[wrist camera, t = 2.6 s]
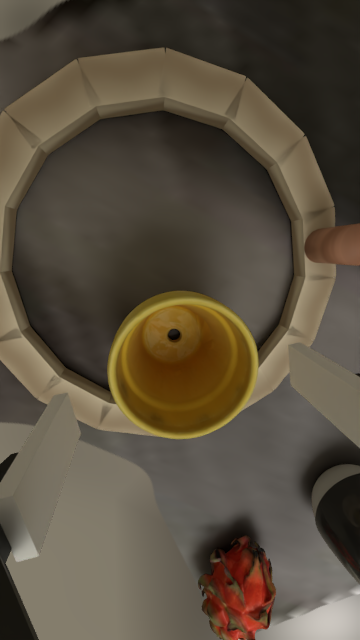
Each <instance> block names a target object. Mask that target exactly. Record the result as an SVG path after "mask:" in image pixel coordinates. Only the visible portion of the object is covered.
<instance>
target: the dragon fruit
mask: <svg viewBox="0 0 360 640" xmlns="http://www.w3.org/2000/svg"><path fill="white" fill-rule="evenodd" d="M234 542H235V543H234ZM249 542H250V538H249V537H248V536H246V535H245V536H243V537H242V536H241V538H240V537H239V538H235V539H234V540H233V541H232V543H231V545H232V544H233V543H234V547H233V548H232V549H231V550H230V551H228V552H227V553H226V554H225V552H224V550H223V549H222V548H221V549H222V550H223V551H222V550H221V549H215V550H214V552H213V553H212V554H211V556H210V563H211V565H212V572H211V575H208V574H204V575H202V576H201V577H200V579H199V580H198V587H199V589H200V590H201V585H202V586H204V589H203V590H202V596H204V593H206V595H207V599H205V600H204V601H203V604H202V610H203V612H204V613H205V614H206V615H208V617H209V619H210V621H209V622H210V627H211V629H212V631H213V632H214V633H215V634H216V635H217V637H219V638H220V639H223V640H238V639H240V640H246V639H247V640H255V631H256V630H257V629H268V627H269V625H270V621H271V613H272V609H273V604H274V600H275V595H276V589H275V586H274V584H273V583H272V567H271V562H270V559H269V561H268V560H267V558H266V554H265V551H264V549H263V548H260V546H259V545H258V544H257V543H256V542H255V543H254V544H255V546H256V547H257V548H256V549H255V548H252V547H250V544H249ZM231 545H230V546H231Z"/></svg>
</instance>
